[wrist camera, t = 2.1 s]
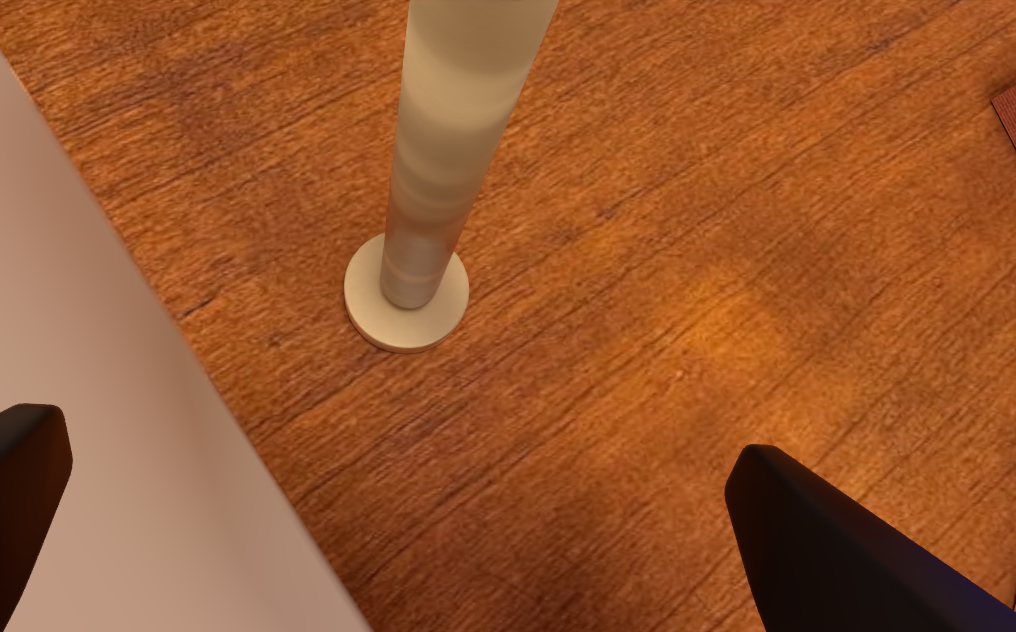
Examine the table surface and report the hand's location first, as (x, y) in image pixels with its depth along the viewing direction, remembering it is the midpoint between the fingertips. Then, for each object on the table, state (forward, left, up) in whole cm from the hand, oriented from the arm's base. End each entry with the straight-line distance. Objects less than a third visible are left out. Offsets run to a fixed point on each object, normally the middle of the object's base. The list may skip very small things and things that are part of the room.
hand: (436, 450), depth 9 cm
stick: (+3, +4, -12) cm, 13 cm away
